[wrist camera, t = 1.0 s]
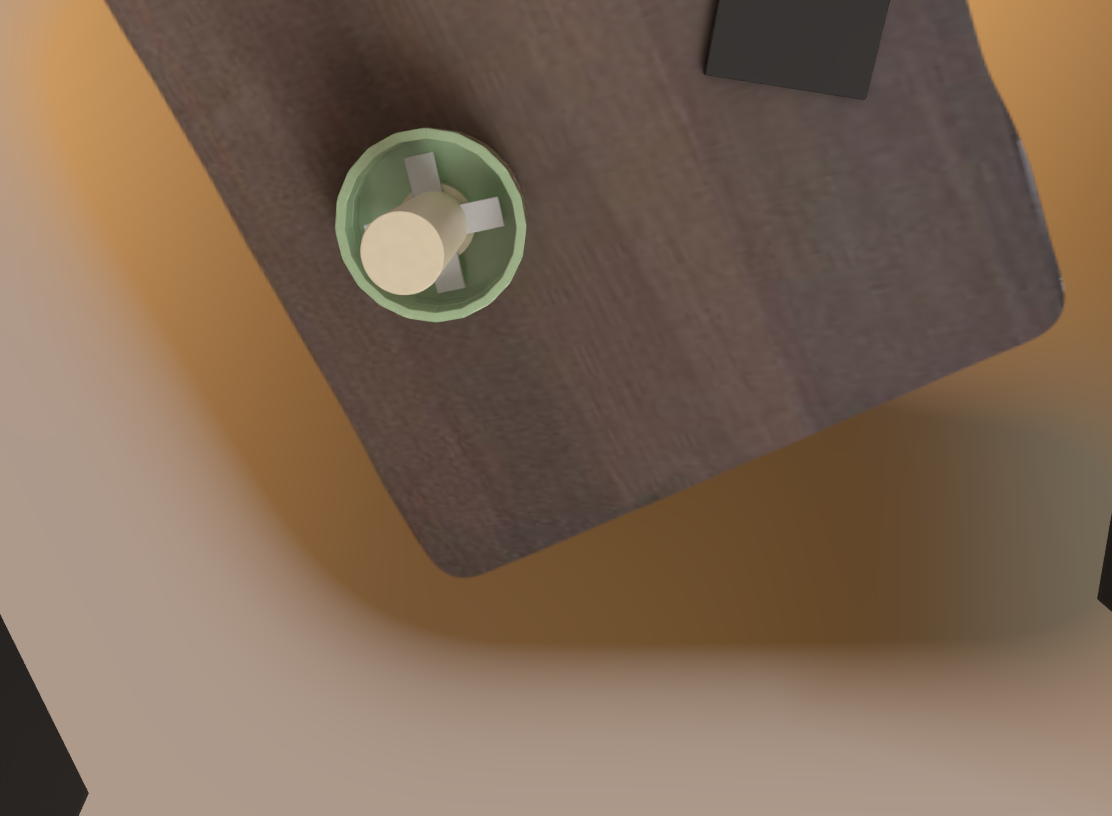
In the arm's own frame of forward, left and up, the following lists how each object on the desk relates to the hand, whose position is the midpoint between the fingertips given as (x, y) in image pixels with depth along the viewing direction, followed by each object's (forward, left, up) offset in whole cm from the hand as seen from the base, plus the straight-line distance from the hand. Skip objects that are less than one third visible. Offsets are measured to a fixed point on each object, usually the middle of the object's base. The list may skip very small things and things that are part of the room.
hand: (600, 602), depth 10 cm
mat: (-14, +13, -47) cm, 51 cm away
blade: (+2, -7, -47) cm, 47 cm away
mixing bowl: (+2, -7, -47) cm, 48 cm away
